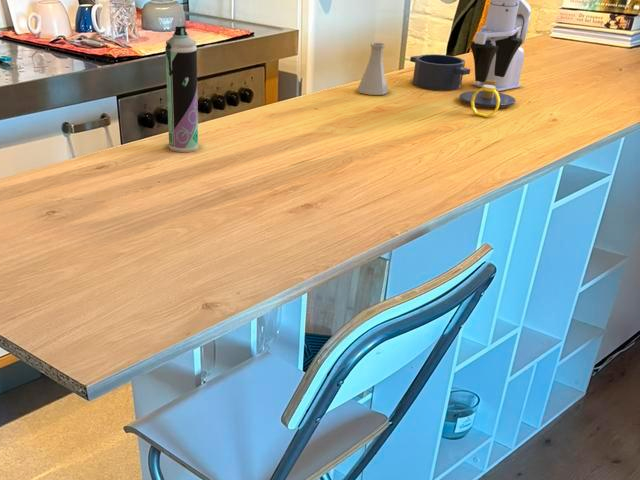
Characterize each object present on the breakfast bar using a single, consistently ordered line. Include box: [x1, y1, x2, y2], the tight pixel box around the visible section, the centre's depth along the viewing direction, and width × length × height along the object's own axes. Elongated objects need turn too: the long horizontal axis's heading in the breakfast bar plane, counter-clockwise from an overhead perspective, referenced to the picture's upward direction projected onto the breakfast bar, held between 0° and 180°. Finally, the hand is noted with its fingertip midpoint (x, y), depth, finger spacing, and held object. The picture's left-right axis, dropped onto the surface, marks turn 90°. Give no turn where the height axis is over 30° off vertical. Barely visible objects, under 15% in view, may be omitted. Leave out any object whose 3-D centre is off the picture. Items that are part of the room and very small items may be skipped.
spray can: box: [164, 25, 199, 153], centre depth 146 cm, size 6×6×20 cm
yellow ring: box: [470, 85, 500, 118], centre depth 175 cm, size 6×3×6 cm, turn 61°
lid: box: [459, 79, 517, 109], centre depth 184 cm, size 13×13×5 cm
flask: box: [357, 42, 389, 96], centre depth 187 cm, size 7×7×10 cm
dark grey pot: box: [409, 53, 471, 92], centre depth 196 cm, size 12×17×6 cm
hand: (489, 78), depth 172 cm, fingers open, 7 cm apart
